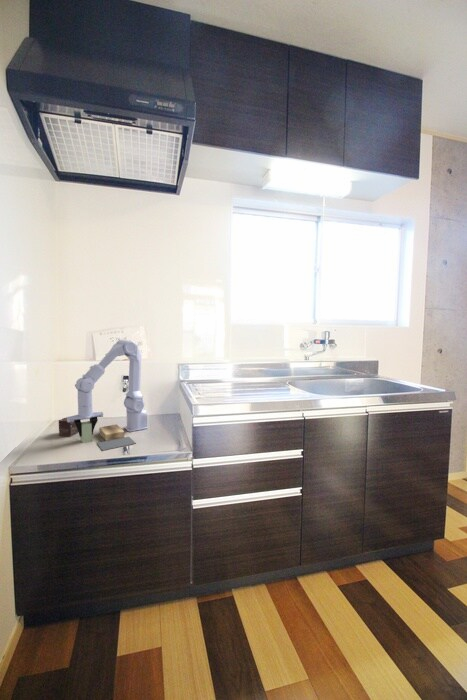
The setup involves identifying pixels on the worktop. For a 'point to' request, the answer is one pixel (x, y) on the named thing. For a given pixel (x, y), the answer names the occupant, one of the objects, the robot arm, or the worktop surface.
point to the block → (86, 431)
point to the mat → (115, 443)
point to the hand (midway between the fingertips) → (86, 435)
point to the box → (67, 428)
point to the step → (111, 432)
